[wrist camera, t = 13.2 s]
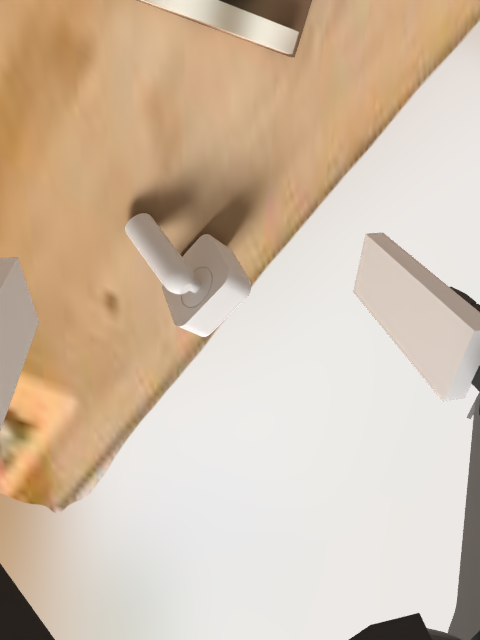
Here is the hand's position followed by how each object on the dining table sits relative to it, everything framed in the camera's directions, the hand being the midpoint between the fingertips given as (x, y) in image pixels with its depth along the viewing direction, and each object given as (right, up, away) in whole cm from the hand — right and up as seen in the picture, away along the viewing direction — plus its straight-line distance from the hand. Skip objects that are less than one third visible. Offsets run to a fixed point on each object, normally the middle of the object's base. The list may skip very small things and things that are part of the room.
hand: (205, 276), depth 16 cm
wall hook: (-6, +6, +28) cm, 29 cm away
